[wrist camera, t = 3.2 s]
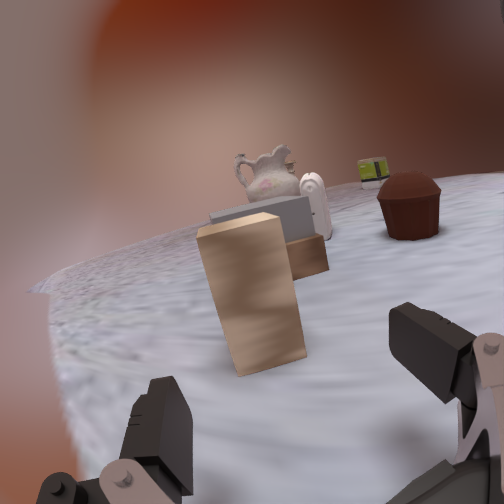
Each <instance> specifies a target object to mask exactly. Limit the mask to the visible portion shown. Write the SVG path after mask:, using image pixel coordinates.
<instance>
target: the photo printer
mask: <svg viewBox="0 0 504 504" xmlns="http://www.w3.org/2000/svg"><path fill="white" fill-rule="evenodd" d="M299 186H300V193H301V196H308V197H309V202H310V207H311V212H312V217H313V222H314V228H315V233H318V234H320V235H323V237H324V241H326V240H327V239H329V238H330V237H331V233H332V224H331V218H330V212H329V207H328V202H327V197H326V192H325V187H324V183H323V180H322V178H321V177H320V176H319V175H318V174H316V173H310V174H309V173H307V174H305V175H304V176H303V177H302V179H301V181H300V185H299Z"/></svg>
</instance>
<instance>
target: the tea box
mask: <svg viewBox="0 0 504 504" xmlns="http://www.w3.org/2000/svg"><path fill="white" fill-rule="evenodd" d="M357 164H358V168H359V172H360V177H361V181H362V186H363V189H364V190H366V189H376V188H381V187H382V185H383V183H384V182H385V181H386V180H387V179H388V178H389V177H390V174H389V170H388V165H387V161H386V157H378V158H371V159H366V160H361V161H357Z"/></svg>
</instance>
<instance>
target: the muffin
mask: <svg viewBox="0 0 504 504" xmlns="http://www.w3.org/2000/svg"><path fill="white" fill-rule="evenodd" d="M440 194H441V189H440V188H439V187H438V185H437V184H436V183H435V182H434V181H433V180H432V178H430V177H429V176H427V175H425V174H424V173H422V172H418V171H409V172H400V173H396V174H394V175H392V176H390V177H389V178H388V179H387V180H386V181H385V182H384V183H383V185H382V187H381V189H380V191H379V193H378V196H377V199H378V201H379V202H380V206H381V209H382V212H383V216H384V219H385V223H386V226H387V230H388V234H389V237H391V238H394V239H396V240H412V241H414V240H419V239H425V238H430V237H432V236H433V235H436V234H438V226H439V201H440Z"/></svg>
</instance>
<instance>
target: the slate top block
mask: <svg viewBox="0 0 504 504" xmlns="http://www.w3.org/2000/svg"><path fill="white" fill-rule="evenodd" d="M262 212H265V213H268V214H272V215H275V216H279V217H280V221H281V225H282V230H283V235H284V239H285V243H288V242H292V241H296V240H299V239H303V238H307V237H311V236H314V235H316V233H315V228H314V222H313V217H312V212H311V207H310V202H309V197H308V196H280V197H275V198H271V199H267V200H262V201H258V202H254V203H249V204H245V205H241V206H237V207H233V208H229V209H225V210H221V211H217V212H213V213H209V216H210V220H211V224H212V225H214V224H218V223H222V222H226V221H230V220H233V219H237V218H241V217H245V216H249V215H254V214H258V213H262Z"/></svg>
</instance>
